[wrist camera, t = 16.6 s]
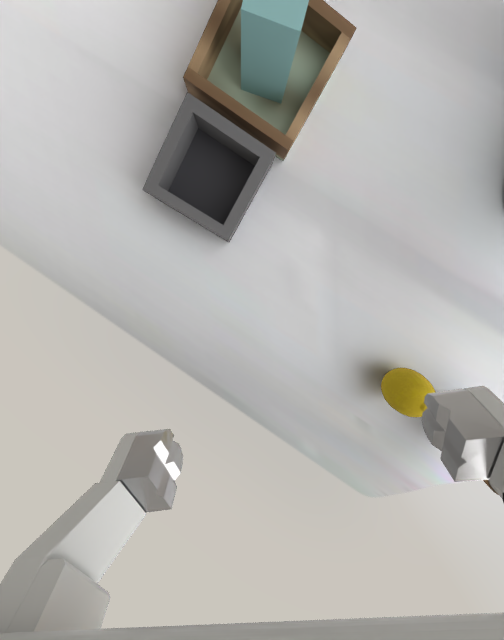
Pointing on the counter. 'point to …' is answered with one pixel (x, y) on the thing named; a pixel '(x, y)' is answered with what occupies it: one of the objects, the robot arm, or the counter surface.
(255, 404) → the counter surface
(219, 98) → the walled bay
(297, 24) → the teal block
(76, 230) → the counter surface
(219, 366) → the counter surface
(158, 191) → the box
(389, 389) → the lemon
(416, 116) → the counter surface
